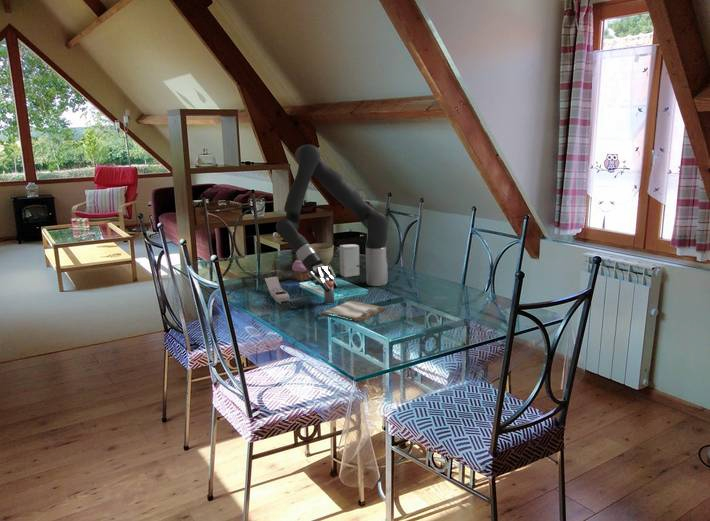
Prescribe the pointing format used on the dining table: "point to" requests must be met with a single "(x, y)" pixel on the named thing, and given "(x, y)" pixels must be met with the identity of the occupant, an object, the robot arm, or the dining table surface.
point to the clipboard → (355, 310)
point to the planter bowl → (324, 252)
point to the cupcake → (300, 271)
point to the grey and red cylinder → (329, 295)
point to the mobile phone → (276, 290)
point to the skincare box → (349, 260)
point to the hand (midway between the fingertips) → (332, 289)
